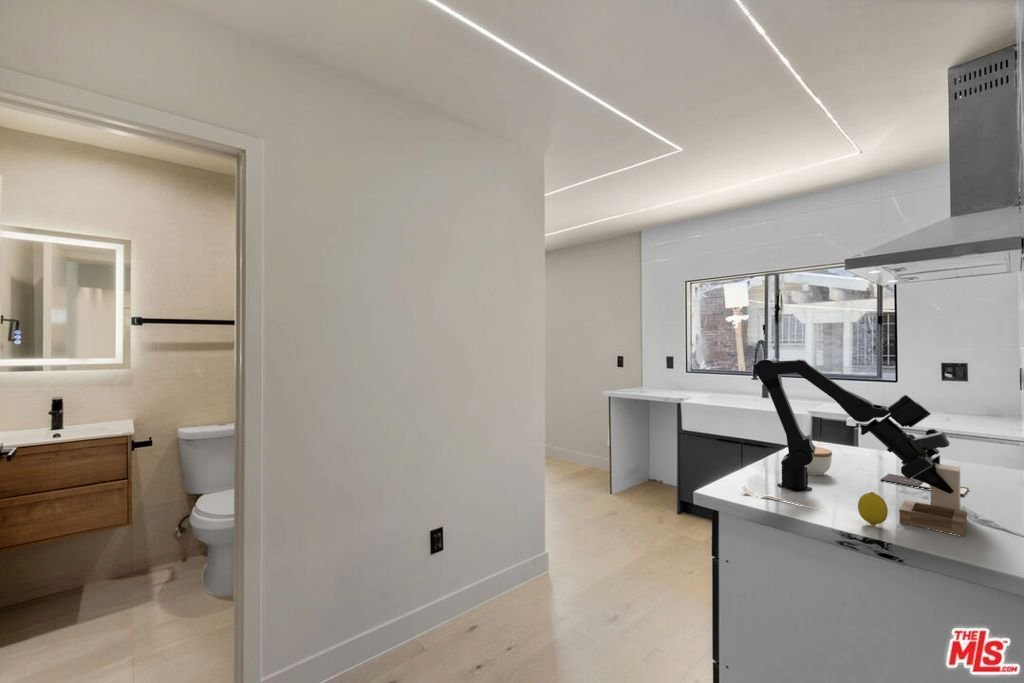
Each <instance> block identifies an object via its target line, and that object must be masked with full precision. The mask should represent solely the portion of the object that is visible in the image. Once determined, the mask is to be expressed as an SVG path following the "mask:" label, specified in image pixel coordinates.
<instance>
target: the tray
mask: <svg viewBox="0 0 1024 683" xmlns="http://www.w3.org/2000/svg"><path fill="white" fill-rule="evenodd" d="M899 523H900V524H904V525H908V524H909V526H913V525H914V527H917V526H919V527H918V528H921V527H924V528H923V529H926V528H929V529H928V530H930V529H933V530H932V531H935V530H938V531H937V532H939V531H942V532H941V533H944V532H946V533H945V534H948V533H952V534H956V535H955V536H957V535H960V536H959V537H961V536H963V537H962V538H965V536H966V531H967V527H968V512H967V511H964V510H961V511H960V510H955V509H950V508H945V507H940V506H935V505H931V503H930V504H929V503H923V502H918V501H913V500H909V499H904V501H903V502H902V504H901V506H900V508H899ZM952 534H951V535H952Z"/></svg>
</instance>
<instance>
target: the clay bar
mask: <svg viewBox="0 0 1024 683" xmlns="http://www.w3.org/2000/svg"><path fill="white" fill-rule="evenodd" d="M937 472H938V473H939V474H940V475H941V476H942V477H943V479H944V480H945V481H946V482H947V483H948V484H949V485H950V487H951V488H952V489H953V490H954V492H953V493H951V494H949V493H947V492H945V491H942V490H940V489H938V488H936V487H934V486H931V491H930V505H935V506H940V507H945V508H950V509H955V510H960V511H962V510H961V497H960V487H961V467H960V466H954V465H947V464H942V463H940V464H937Z"/></svg>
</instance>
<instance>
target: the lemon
mask: <svg viewBox="0 0 1024 683" xmlns="http://www.w3.org/2000/svg"><path fill="white" fill-rule="evenodd" d="M888 509H889V508H888V504H887V503H886V501H885V500H884V498H883V497H882V496H880V495H878V494H877V493H876V492H873V491H870V492H868V493H863V494H862V495H861V496H860V498H859V499H858V501H857V510H858V513H859V515H860V517H861V518H862V520H864V521H865V522H866V523H869V524H870V525H871V526H873V527H875V526H876V525H878V524H882V523H884V522H885V521H886V520H887V518H888V514H889V513H888V512H889V510H888Z"/></svg>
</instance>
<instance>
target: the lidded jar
mask: <svg viewBox="0 0 1024 683" xmlns="http://www.w3.org/2000/svg"><path fill="white" fill-rule="evenodd" d="M815 447H816V449H815V452H814V457H813V460H812V462H811V463H810V464H808V465H805V466H804V467H807V472H808V474H809V475H808V476H813V475H818V476H817V477H819V475H822V476H824V475H825V473H827V472H828V471H829V470H830V469H831V465H832V460H833V459H832V458H833V451H832V450H830V449H828V448H824V447H819V446H815ZM823 474H824V475H823Z"/></svg>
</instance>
